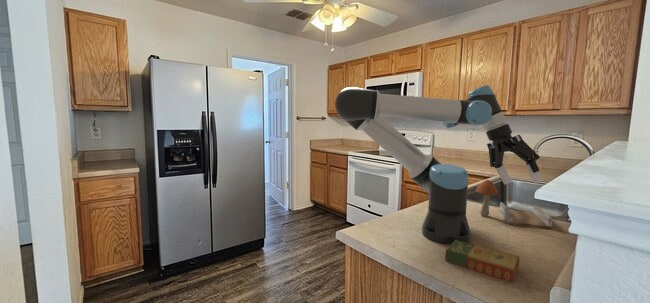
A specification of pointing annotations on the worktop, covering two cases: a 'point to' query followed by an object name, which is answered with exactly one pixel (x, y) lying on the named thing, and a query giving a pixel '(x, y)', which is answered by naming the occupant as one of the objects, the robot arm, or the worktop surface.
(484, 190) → the mushroom
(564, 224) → the worktop surface
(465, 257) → the carton
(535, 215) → the track
